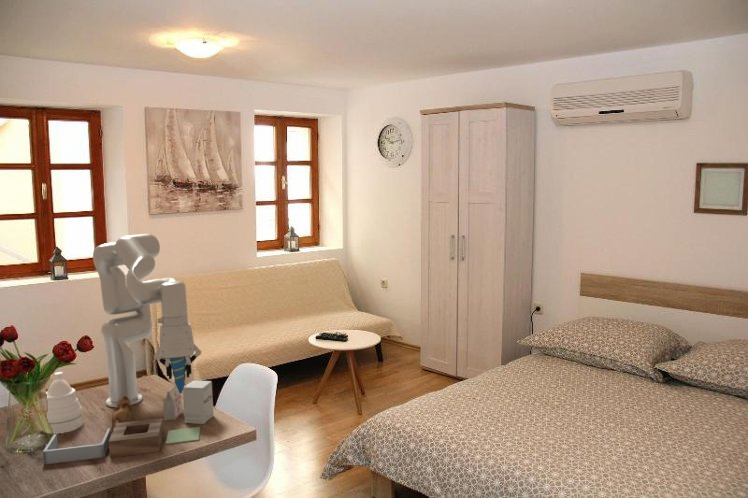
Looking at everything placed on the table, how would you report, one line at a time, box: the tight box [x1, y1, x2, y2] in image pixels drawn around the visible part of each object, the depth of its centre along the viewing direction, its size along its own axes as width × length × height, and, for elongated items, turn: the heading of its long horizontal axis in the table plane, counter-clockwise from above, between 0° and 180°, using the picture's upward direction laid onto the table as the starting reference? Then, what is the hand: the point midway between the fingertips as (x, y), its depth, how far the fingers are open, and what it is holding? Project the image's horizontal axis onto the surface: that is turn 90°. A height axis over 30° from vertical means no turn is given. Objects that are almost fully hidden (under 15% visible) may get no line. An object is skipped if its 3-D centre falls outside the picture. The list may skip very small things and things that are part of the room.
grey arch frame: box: [42, 427, 112, 465], centre depth 192 cm, size 12×17×4 cm
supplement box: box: [182, 380, 214, 425], centre depth 213 cm, size 7×7×13 cm
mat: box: [165, 426, 201, 445], centre depth 201 cm, size 10×10×1 cm
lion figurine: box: [110, 396, 132, 435], centre depth 209 cm, size 15×5×9 cm, turn 12°
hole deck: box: [108, 417, 165, 458], centre depth 195 cm, size 14×14×5 cm
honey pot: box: [45, 371, 85, 435], centre depth 211 cm, size 13×13×18 cm
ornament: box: [170, 357, 187, 394], centre depth 198 cm, size 5×5×15 cm
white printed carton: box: [163, 384, 183, 421], centre depth 217 cm, size 4×7×10 cm, turn 177°
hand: (179, 376), depth 199 cm, fingers closed on ornament, 4 cm apart
